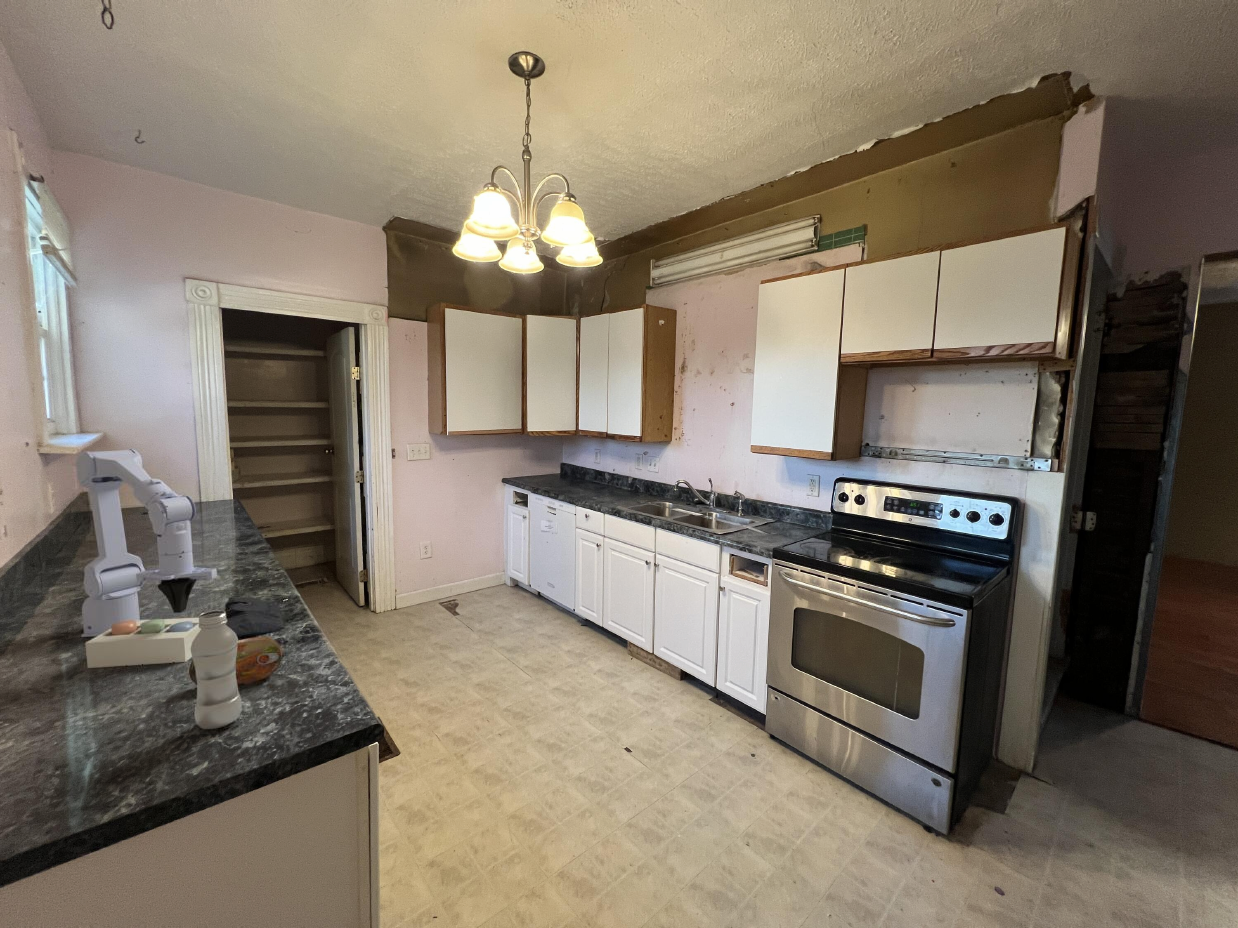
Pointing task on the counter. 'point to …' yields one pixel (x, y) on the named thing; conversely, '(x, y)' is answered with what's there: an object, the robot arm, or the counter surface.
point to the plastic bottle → (215, 672)
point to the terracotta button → (124, 627)
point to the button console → (142, 646)
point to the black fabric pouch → (252, 616)
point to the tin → (252, 660)
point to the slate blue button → (181, 626)
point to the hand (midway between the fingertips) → (180, 610)
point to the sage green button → (152, 626)
